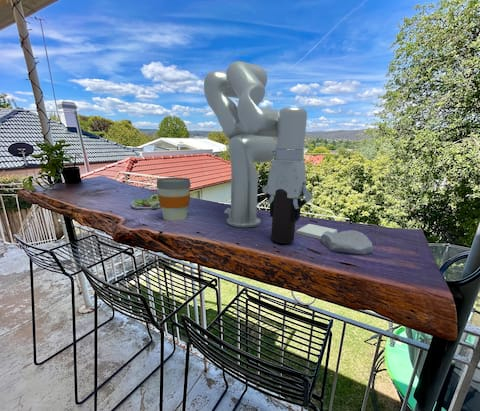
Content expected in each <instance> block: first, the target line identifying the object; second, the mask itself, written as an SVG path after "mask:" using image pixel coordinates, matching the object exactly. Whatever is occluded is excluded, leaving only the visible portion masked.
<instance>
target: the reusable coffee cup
mask: <svg viewBox="0 0 480 411" xmlns="http://www.w3.org/2000/svg"><path fill="white" fill-rule="evenodd" d="M191 186H192V185H191V180H190V178H189V177H188V178H187V177H164V178H163V177H162V178H157V179H156V188H157V191H158V193H157V194H158V198H159V203H160V207H161V208H160V209H161V213H162V219H163V220H165V221H169V222H170V221H171V222H175V221H176V222H177V221H183V220H185V219H187V218H188V210H189V208H188V207H189V206H190V200H191V193H190V190H191V189H190V188H191Z"/></svg>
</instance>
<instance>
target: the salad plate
mask: <svg viewBox="0 0 480 411" xmlns="http://www.w3.org/2000/svg"><path fill="white" fill-rule="evenodd" d="M158 194H159V193H156V194H152V195H150V196H149V197H148V198H147V199H146V198H145V199H144V198H139V199H135V200H132V201H131V203H130V206H131V207H132V208H133V209H135V210H140V211H141V210H144V211H145V210H158V209H162V208H161V207H160V203H159V198H158Z"/></svg>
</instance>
